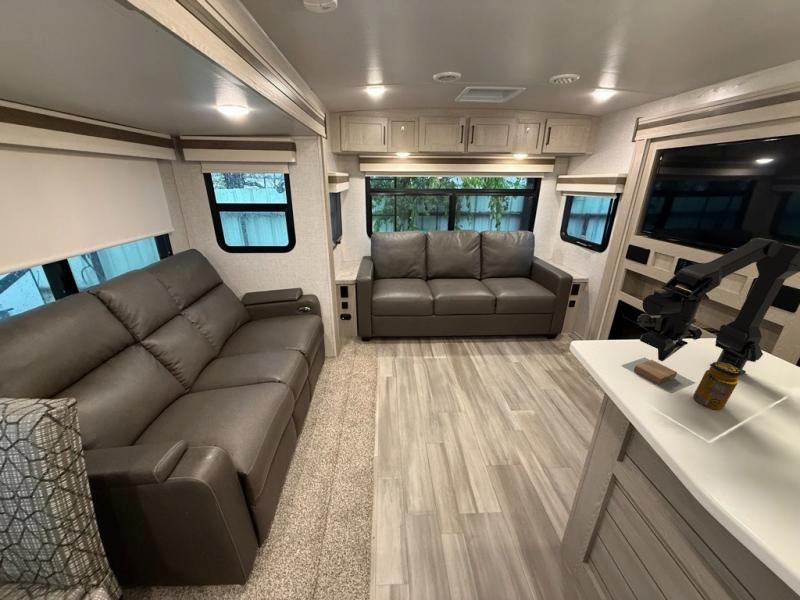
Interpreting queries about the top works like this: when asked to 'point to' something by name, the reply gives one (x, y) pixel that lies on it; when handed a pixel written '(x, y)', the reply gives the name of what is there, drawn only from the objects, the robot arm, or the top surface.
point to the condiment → (717, 385)
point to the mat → (669, 385)
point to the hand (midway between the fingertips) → (660, 360)
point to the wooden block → (655, 371)
